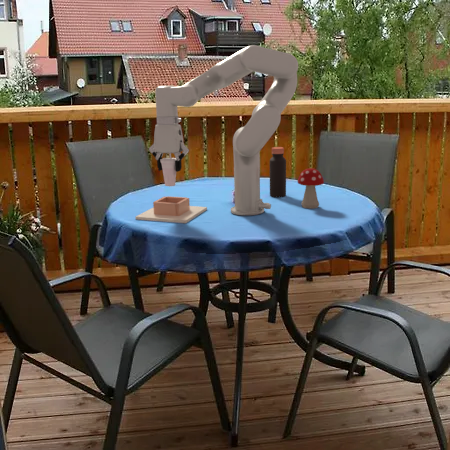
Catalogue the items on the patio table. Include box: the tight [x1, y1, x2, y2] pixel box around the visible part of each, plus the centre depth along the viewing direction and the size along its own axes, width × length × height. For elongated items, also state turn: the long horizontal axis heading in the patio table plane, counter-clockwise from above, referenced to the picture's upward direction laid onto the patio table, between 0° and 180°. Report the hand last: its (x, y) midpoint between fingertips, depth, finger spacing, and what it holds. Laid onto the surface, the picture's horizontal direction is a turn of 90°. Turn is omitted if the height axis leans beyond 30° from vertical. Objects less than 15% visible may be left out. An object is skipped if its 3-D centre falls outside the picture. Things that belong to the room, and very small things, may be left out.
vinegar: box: [269, 146, 287, 198], centre depth 246 cm, size 7×7×20 cm
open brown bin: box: [135, 196, 208, 224], centre depth 223 cm, size 20×20×6 cm
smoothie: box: [160, 153, 177, 187], centre depth 219 cm, size 6×6×14 cm
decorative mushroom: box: [297, 167, 325, 210], centre depth 227 cm, size 10×9×15 cm
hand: (169, 170), depth 219 cm, fingers closed on smoothie, 6 cm apart
